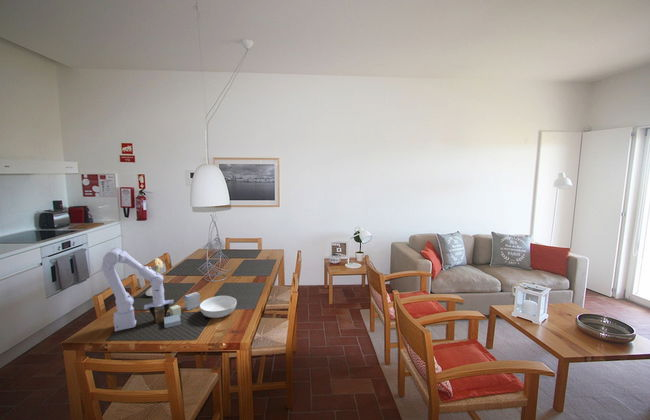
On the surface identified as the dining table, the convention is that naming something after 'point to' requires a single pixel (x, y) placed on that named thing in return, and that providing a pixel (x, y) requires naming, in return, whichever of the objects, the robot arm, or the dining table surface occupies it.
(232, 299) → the serving bowl
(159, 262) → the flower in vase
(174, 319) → the base block
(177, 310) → the sage block
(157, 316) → the walnut block
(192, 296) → the medicine box
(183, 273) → the dining table surface
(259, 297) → the dining table surface
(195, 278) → the dining table surface
